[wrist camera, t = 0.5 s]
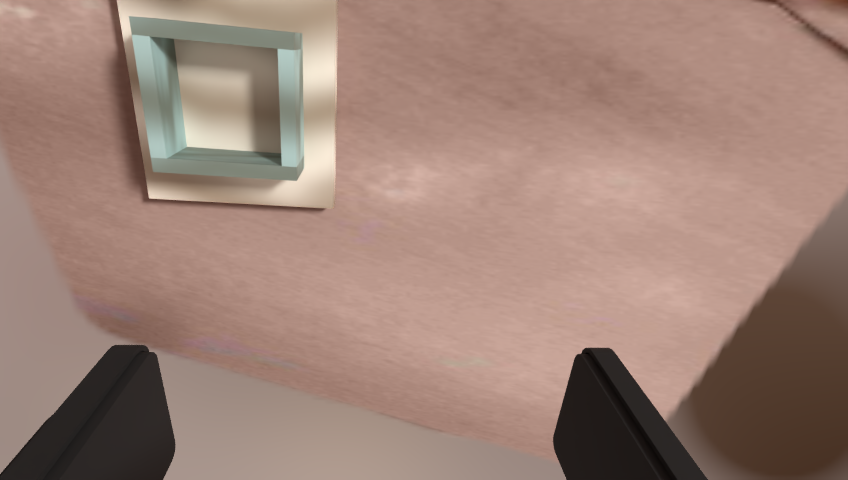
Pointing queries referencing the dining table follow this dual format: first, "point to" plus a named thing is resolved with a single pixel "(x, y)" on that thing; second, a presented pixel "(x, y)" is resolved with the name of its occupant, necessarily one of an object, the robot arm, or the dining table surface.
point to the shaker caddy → (235, 98)
